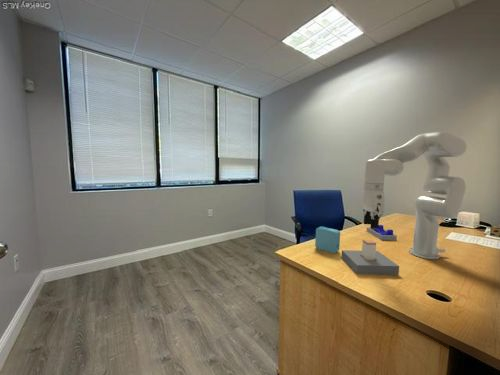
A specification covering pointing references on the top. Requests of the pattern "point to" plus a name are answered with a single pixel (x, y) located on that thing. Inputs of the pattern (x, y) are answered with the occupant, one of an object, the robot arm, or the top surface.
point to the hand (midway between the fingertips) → (370, 225)
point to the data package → (327, 239)
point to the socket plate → (370, 263)
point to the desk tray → (381, 237)
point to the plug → (368, 249)
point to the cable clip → (381, 230)
